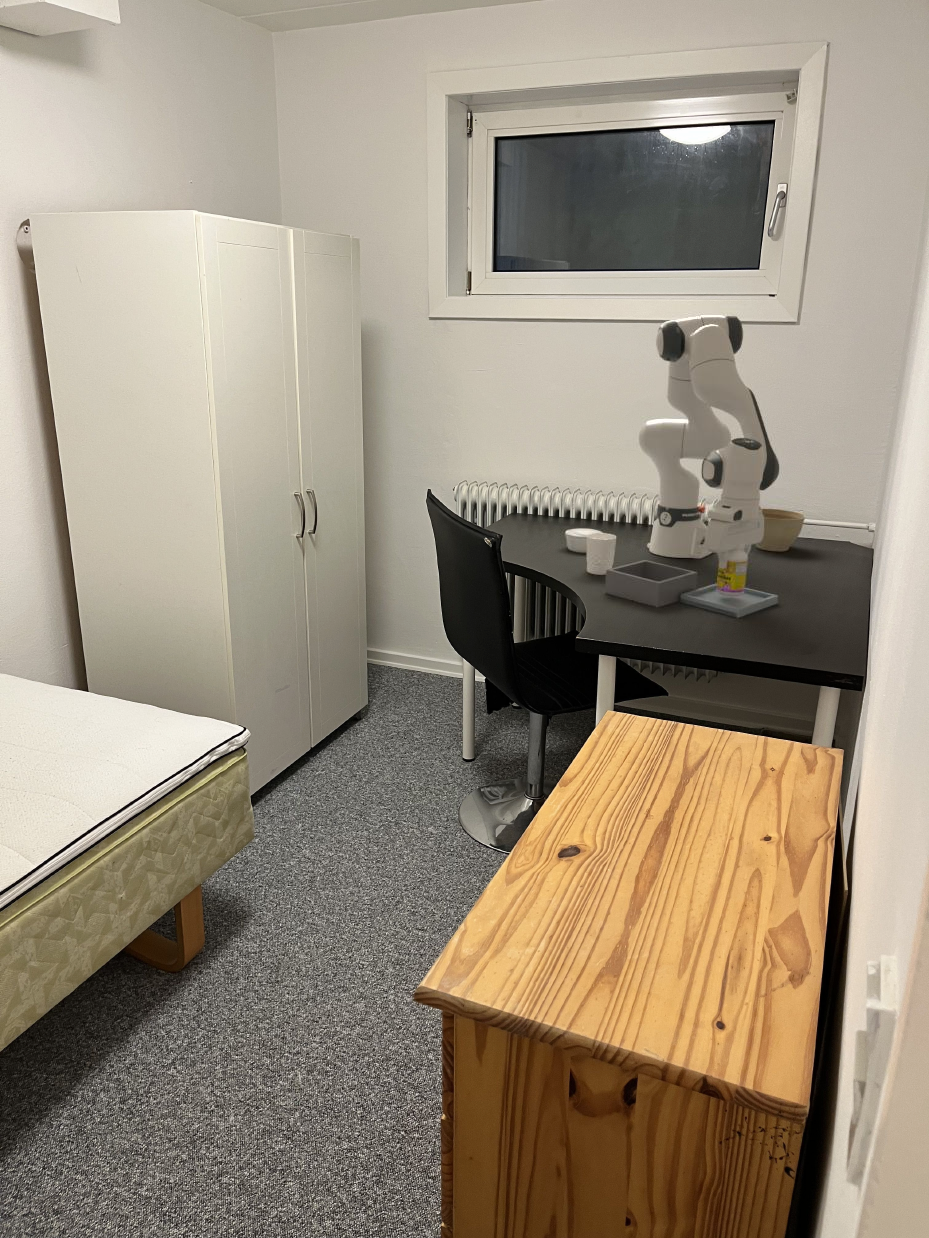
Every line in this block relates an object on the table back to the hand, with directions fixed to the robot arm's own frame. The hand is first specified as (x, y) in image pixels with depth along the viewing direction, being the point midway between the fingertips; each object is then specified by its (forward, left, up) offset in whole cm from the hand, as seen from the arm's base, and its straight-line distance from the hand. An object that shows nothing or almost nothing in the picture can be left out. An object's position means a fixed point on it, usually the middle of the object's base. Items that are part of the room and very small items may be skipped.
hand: (732, 565), depth 220 cm
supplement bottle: (0, 0, -7) cm, 7 cm away
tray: (0, 0, -10) cm, 10 cm away
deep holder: (+9, -17, -10) cm, 21 cm away
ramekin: (-15, -59, -10) cm, 62 cm away
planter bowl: (-62, -23, -10) cm, 67 cm away
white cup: (+2, -39, -10) cm, 40 cm away
